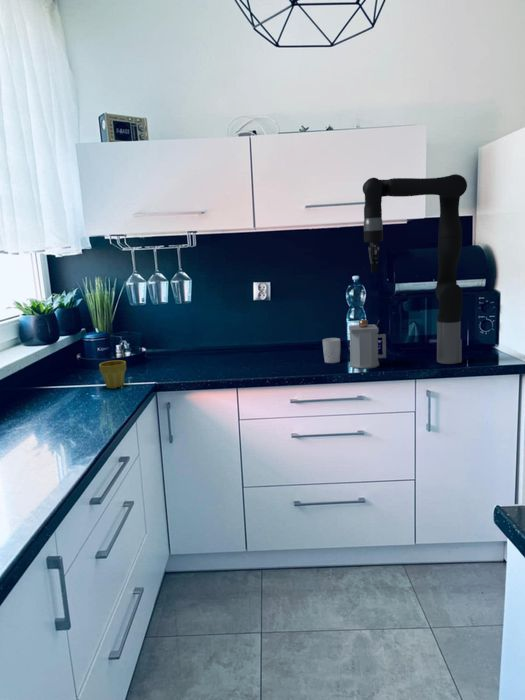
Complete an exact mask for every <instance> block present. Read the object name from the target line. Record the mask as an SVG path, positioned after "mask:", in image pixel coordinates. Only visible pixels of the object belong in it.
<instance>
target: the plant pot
mask: <svg viewBox="0 0 525 700" xmlns="http://www.w3.org/2000/svg"><path fill="white" fill-rule="evenodd" d="M98 366H99V367H98V369H99V373H100V374H102V378H103V380H104V383H105V386H106V388H107V389H118V388H117V387H119V388H121V387H120V386H122V385H123V386H124V383H125V374H126V371H127V362H126V360H120V359H119V360H118V359H116V360H108V361H104V362H100V363H99V365H98ZM123 386H122V387H123Z"/></svg>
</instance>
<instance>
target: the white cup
mask: <svg viewBox="0 0 525 700" xmlns="http://www.w3.org/2000/svg"><path fill="white" fill-rule="evenodd" d="M322 350H323V358H324V363H325V364H336V363H340V361H341V358H340V357H341V338H338V337H329V338H328V337H326V338H323V339H322Z"/></svg>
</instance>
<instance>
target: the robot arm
mask: <svg viewBox="0 0 525 700" xmlns="http://www.w3.org/2000/svg"><path fill="white" fill-rule="evenodd" d="M467 188H468V182H467V179H465V177H464V176H462V175H460V174H456V173H454V174H449V175H447V176H442V177H432V178H431V177H430V178H429V177H428V178H426V177H425V178H423V177H422V178H419V177H418V178H417V177H416V178H415V177H414V178H412V177H411V178H410V177H409V178H407V177H403V178H402V177H400V178H399V177H397V178H396V177H394V178H393V177H392V178H389V179H379V178H377V177H370V178H368V179H367V180H366V181H365V182H364V183H363V185H362V193H363V194H364V207H363V218H364V219H363V242H364V243H369V246H367V248H368V249H367V250H368V257H369V262H370V272H371V273H372V274H377V273H378V262H379V253H380V246H379V245H378V242H383V241H384V233H383V232H384V229H383V228H384V227H383V217H382V215H383V210H382V200H383V197H395V198H396V197H399V198H400V197H404V198H405V197H416V196H426V195H428V196H429V195H430V196H432V195H433V196H439V197H438V198H439V211H440V212H439V213H440V214H439V219H438V220H439V221H438V234H437V235H438V238H437V240H438V241H437V264H438V265H437V267H438V271H437V280H436V286H435V297H436V299H437V301H438V302H439V303H438V313H437V317H436V362H437V363H439V364H442V365H445V364H446V365H453V364H460V363H461V364H462V363H463V362H462V358H463V357H462V356H463V354H462V352H463V349H462V348H463V340H462V339H461V326H462V325H461V323H462V322H461V317H462V315H463V303H464V302H463V301H464V300H463V297H464V295H463V290H462V288H461V286H460V285H459V284H458V282H457V269H458V264H459V260H460V258H461V254H462V251H463V250H462V248H463V228H462V223H461V219H460V217H461V216H460V212H459V211H460V209H459V208H460V199H461V197H462V195H464V193H466V191H467Z"/></svg>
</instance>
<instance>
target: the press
mask: <svg viewBox="0 0 525 700" xmlns="http://www.w3.org/2000/svg"><path fill="white" fill-rule="evenodd" d="M379 329H380V328H379V327H378V326H377V325H376V324H368V326H367V327H364V328H362V327H359V324H358V325H355V324H354V325H348V330H349V352H350V353H349V354H350V355H349V357H350V358H349V360H350V362H349V363H348V364H349V367H350V368H352V367H353V369H357V368H360V370H361V369H362V370H363V369H364V370H365V369H366V370H367V369H374V368H377V367H380V362H379V359H387V340H386V339H387V336H386V333H382V334H381V333H380V334H379V331H380V330H379ZM379 338H380V339H381V338H382V354H379V341H378V339H379Z"/></svg>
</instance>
